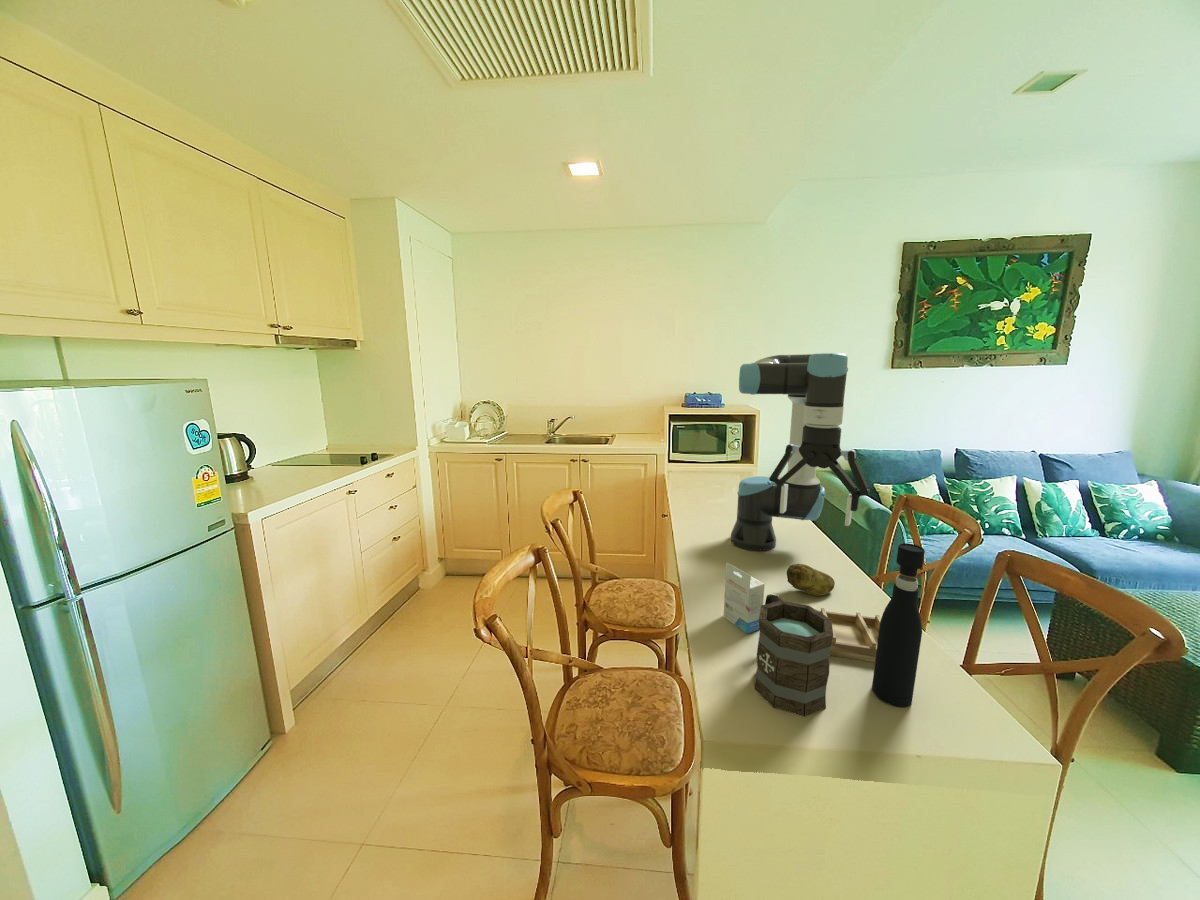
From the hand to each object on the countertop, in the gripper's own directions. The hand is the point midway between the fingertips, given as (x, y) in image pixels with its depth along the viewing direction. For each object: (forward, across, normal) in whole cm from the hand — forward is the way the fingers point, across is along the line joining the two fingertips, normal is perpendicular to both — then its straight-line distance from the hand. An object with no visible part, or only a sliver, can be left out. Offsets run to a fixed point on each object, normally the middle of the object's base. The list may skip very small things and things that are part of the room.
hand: (814, 517), depth 99 cm
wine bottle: (+28, +19, -13) cm, 36 cm away
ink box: (+28, -12, -7) cm, 31 cm away
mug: (+28, +1, -21) cm, 35 cm away
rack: (+28, +7, -1) cm, 28 cm away
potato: (+28, -3, +18) cm, 33 cm away
